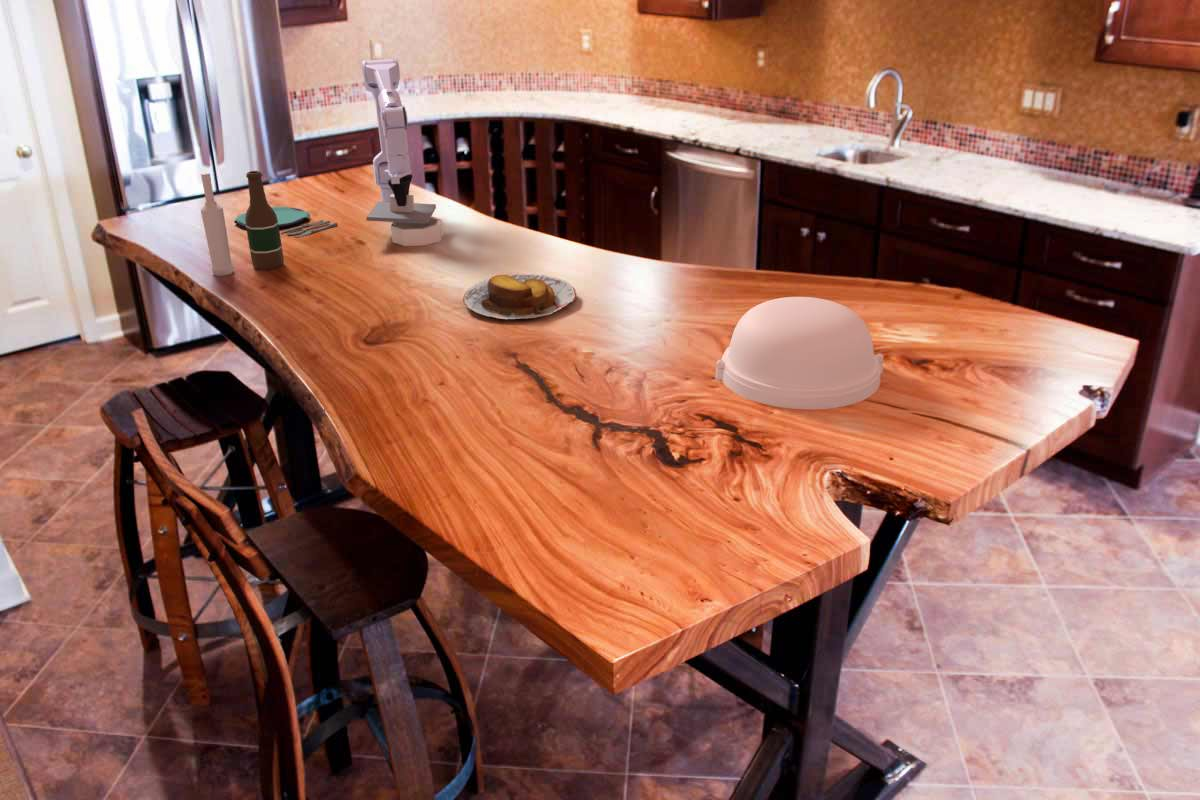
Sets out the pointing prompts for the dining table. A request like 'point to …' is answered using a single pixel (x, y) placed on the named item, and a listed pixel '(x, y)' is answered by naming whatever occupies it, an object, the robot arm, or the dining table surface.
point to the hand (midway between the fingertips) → (402, 204)
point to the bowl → (417, 232)
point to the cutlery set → (291, 220)
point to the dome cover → (801, 355)
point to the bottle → (215, 231)
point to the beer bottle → (262, 227)
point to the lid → (401, 211)
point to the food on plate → (519, 296)
